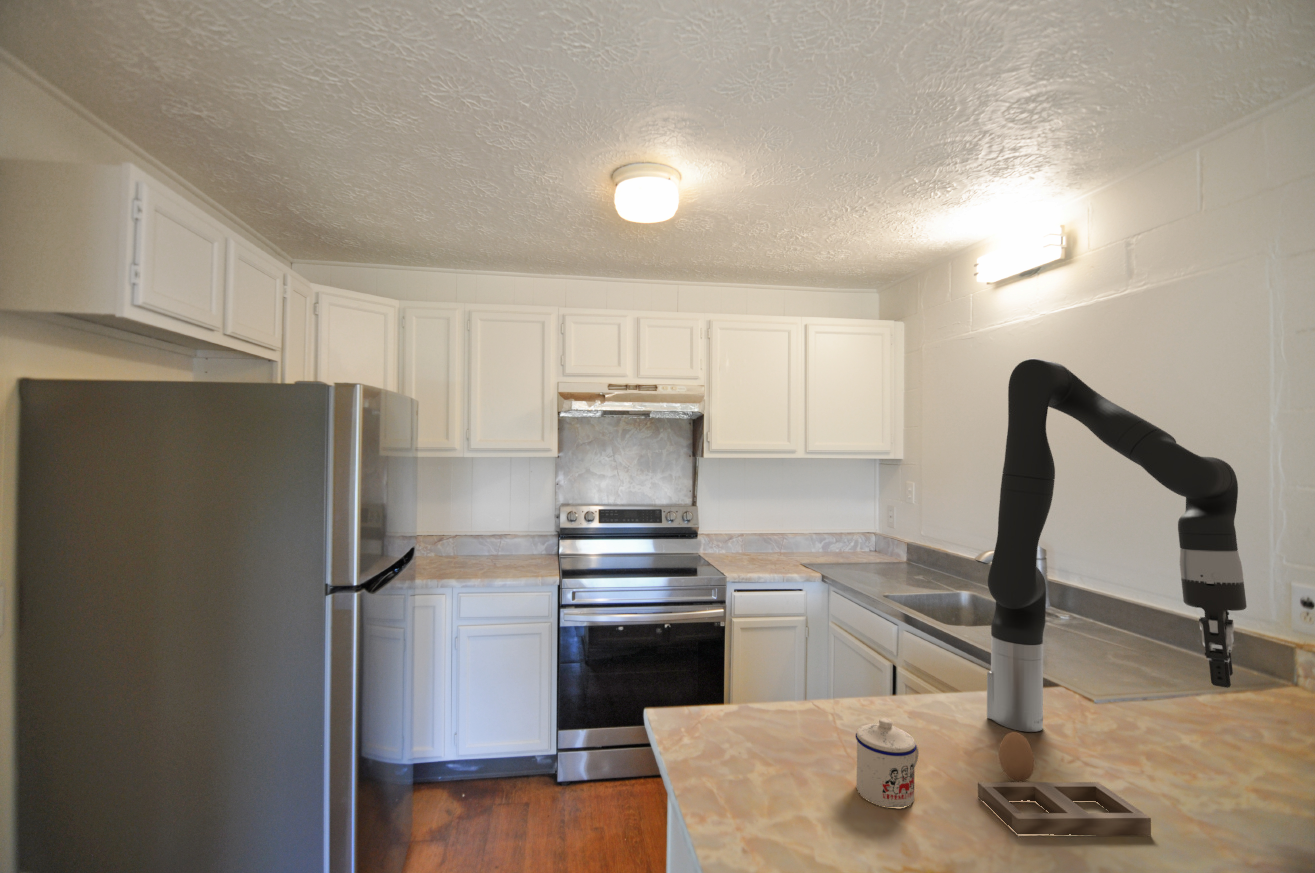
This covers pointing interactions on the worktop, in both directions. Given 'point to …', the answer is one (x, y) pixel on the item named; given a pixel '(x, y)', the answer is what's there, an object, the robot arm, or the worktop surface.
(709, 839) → the worktop surface
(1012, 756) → the egg
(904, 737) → the teacup with lid
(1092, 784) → the egg rail
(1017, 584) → the robot arm
